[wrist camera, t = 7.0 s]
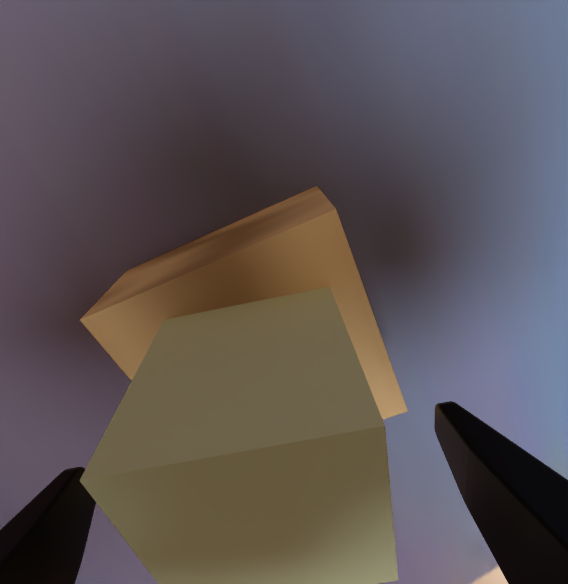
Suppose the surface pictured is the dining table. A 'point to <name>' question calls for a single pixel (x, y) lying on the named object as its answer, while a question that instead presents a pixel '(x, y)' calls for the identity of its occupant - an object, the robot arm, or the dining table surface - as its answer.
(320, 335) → the yellow cube
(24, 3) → the dining table surface
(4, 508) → the dining table surface
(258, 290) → the oak block
